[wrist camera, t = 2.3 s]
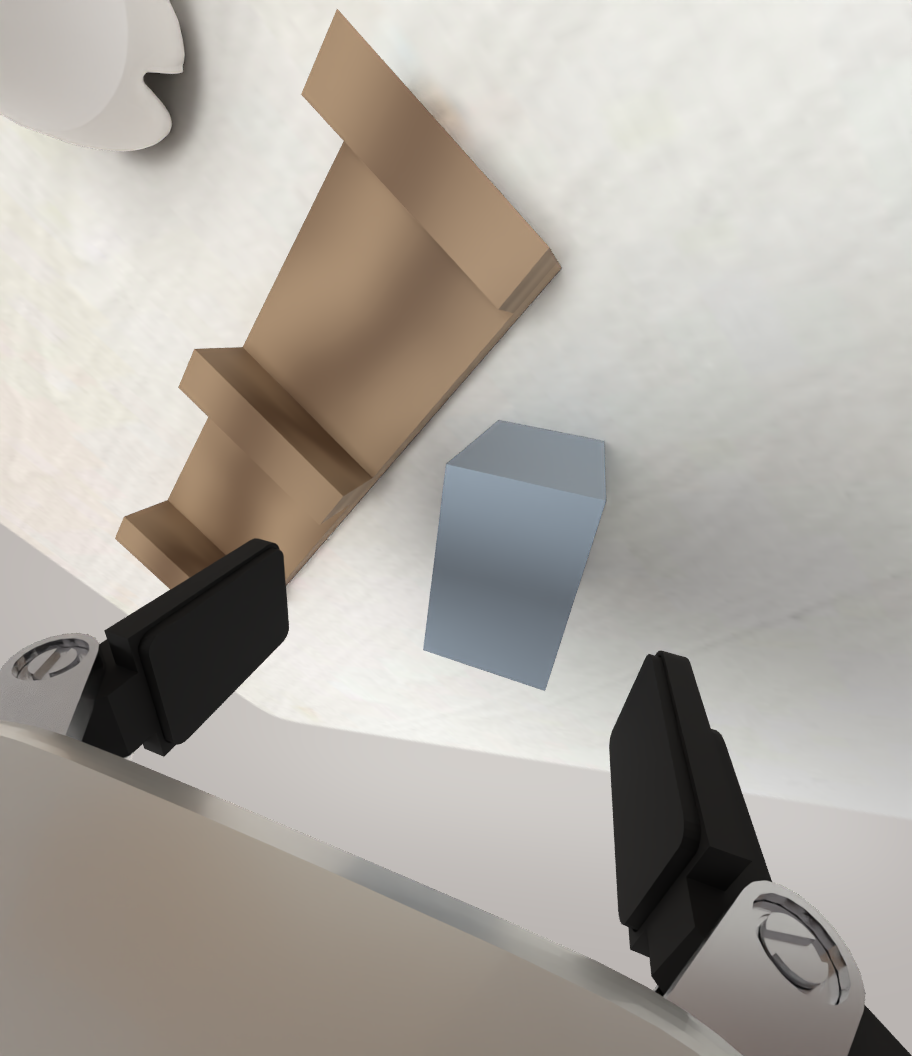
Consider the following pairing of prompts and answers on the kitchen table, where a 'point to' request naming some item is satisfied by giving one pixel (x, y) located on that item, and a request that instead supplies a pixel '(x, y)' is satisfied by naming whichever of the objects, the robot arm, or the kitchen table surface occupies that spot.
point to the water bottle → (88, 69)
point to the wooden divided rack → (346, 329)
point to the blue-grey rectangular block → (513, 548)
